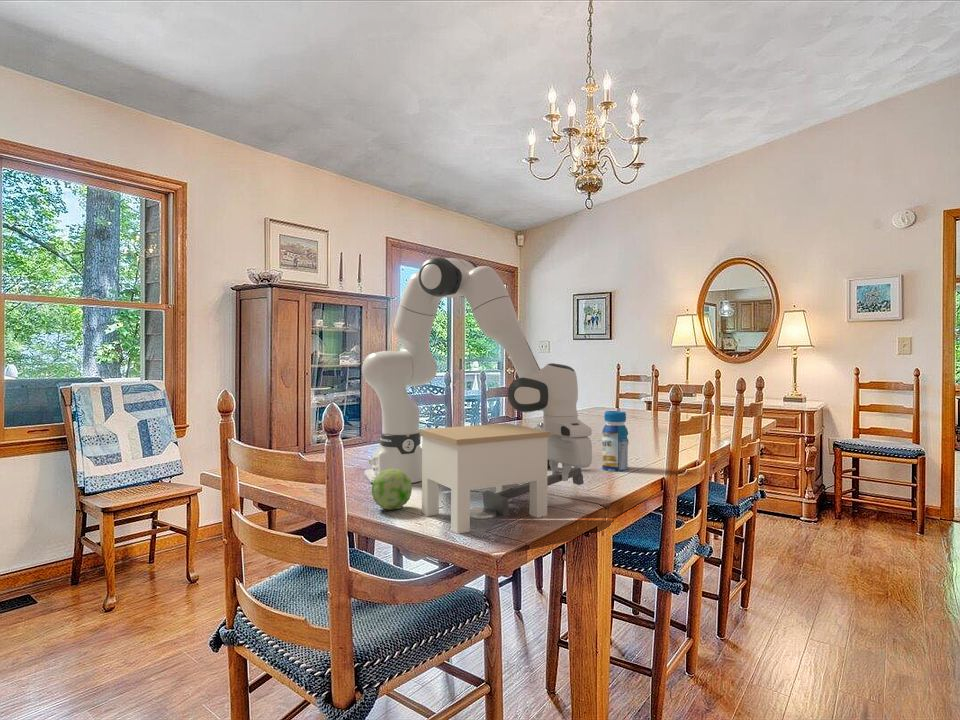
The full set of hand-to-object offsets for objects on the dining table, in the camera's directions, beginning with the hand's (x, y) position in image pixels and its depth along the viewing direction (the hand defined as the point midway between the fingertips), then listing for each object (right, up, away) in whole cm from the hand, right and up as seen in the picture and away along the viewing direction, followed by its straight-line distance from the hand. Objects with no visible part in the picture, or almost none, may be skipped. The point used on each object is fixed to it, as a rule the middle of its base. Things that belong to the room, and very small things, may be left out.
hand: (560, 479), depth 144 cm
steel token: (-20, -6, -13) cm, 25 cm away
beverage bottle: (+23, -6, +35) cm, 43 cm away
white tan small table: (-20, -6, -12) cm, 24 cm away
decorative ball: (-43, -6, -7) cm, 44 cm away
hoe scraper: (-5, -4, -3) cm, 7 cm away
